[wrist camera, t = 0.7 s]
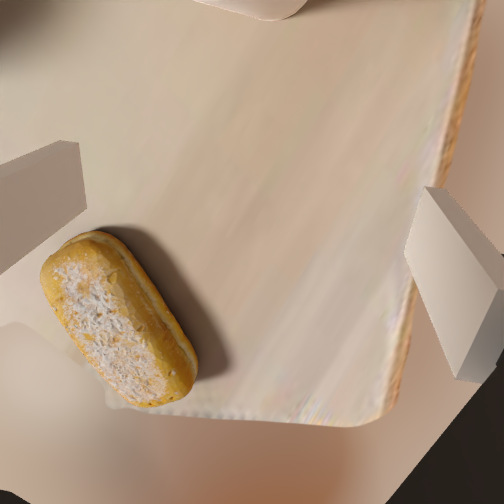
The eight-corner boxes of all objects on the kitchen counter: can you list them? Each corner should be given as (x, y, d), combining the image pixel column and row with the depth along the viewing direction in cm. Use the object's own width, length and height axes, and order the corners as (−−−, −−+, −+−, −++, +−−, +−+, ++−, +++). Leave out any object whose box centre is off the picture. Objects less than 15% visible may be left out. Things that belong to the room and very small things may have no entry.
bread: (150, 386, 63) (129, 429, 56) (40, 252, 54) (-1, 284, 47) (221, 364, 59) (208, 407, 52) (114, 214, 49) (81, 242, 42)
